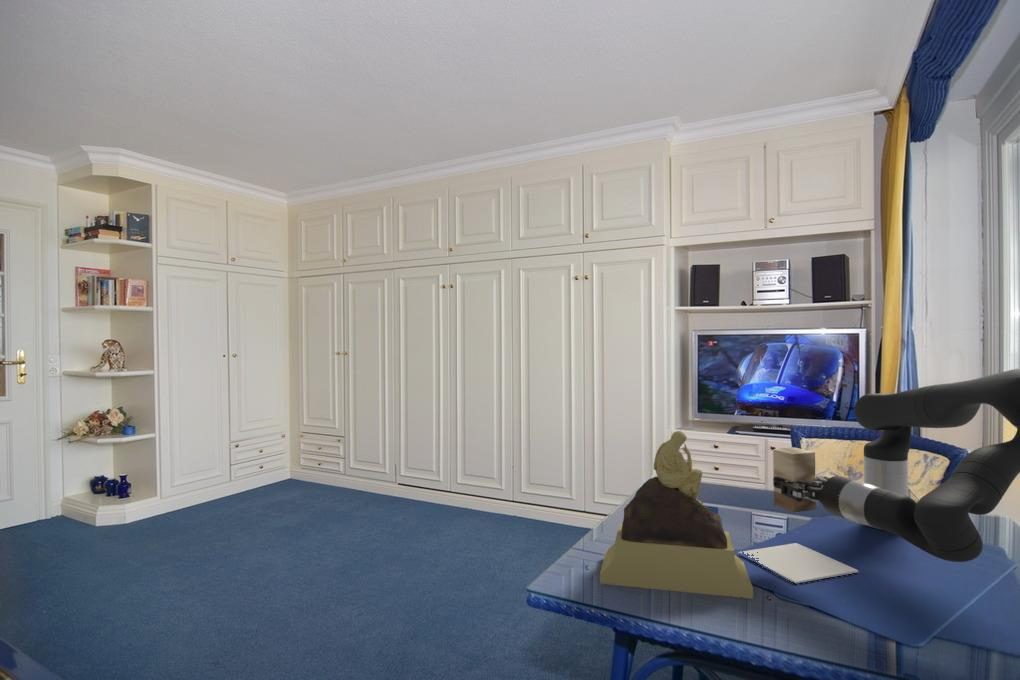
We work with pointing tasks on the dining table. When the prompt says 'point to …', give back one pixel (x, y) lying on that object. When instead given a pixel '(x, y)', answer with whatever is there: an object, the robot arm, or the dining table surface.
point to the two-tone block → (793, 475)
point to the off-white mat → (799, 563)
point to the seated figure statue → (674, 535)
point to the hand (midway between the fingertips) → (786, 480)
